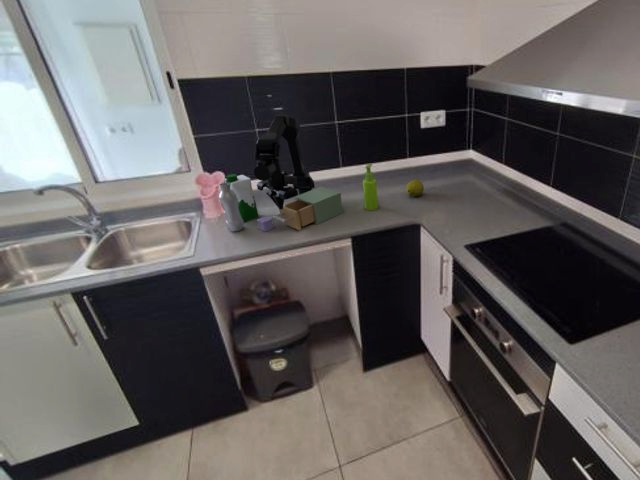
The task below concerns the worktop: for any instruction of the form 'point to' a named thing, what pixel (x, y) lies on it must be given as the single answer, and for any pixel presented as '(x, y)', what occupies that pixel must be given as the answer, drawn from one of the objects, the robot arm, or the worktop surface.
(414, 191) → the lemon
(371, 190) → the soap dispenser
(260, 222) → the purple cube
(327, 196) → the green drawer box
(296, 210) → the drawer
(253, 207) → the milk carton
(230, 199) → the plastic bottle
